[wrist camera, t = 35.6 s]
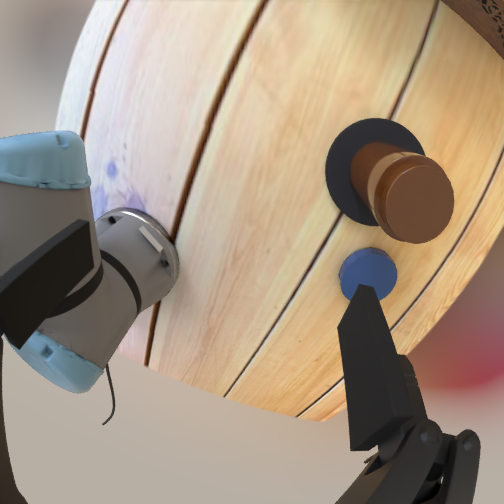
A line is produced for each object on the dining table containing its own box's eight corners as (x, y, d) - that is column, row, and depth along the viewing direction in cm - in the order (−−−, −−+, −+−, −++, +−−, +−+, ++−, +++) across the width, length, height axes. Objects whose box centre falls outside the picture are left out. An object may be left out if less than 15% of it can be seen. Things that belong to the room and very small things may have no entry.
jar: (378, 217, 30) (412, 267, 20) (336, 173, 29) (358, 205, 19) (420, 175, 27) (472, 208, 17) (380, 127, 25) (426, 137, 15)
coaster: (374, 244, 33) (375, 246, 32) (301, 173, 30) (302, 174, 29) (443, 176, 27) (445, 178, 26) (376, 95, 24) (378, 95, 24)
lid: (371, 236, 32) (375, 242, 31) (403, 272, 34) (407, 279, 32) (327, 274, 36) (328, 281, 34) (361, 305, 37) (363, 313, 36)
